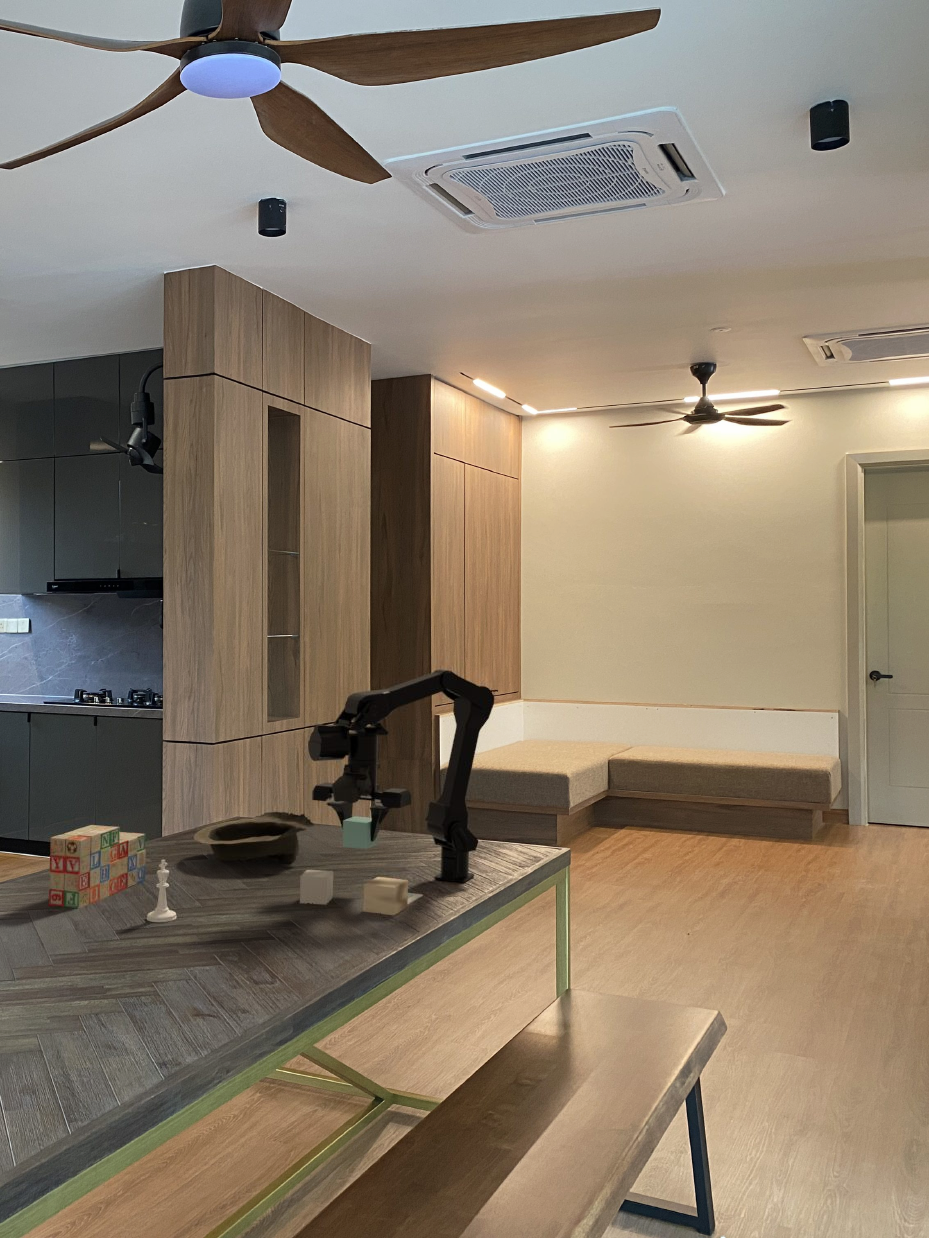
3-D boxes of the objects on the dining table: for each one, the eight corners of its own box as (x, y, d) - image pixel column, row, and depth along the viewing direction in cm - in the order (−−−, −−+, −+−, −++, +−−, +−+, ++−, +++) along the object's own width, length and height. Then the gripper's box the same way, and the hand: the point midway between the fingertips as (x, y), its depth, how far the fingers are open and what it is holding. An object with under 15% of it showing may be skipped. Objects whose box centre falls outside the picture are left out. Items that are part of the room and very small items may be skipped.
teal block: (354, 841, 208) (354, 816, 208) (377, 844, 206) (378, 818, 206) (342, 846, 203) (343, 820, 203) (366, 849, 201) (366, 822, 201)
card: (389, 891, 204) (389, 889, 204) (422, 895, 202) (422, 893, 202) (373, 900, 198) (373, 897, 198) (408, 904, 195) (408, 902, 195)
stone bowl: (334, 856, 232) (333, 814, 232) (254, 887, 212) (253, 841, 211) (251, 839, 246) (250, 800, 245) (168, 867, 225) (167, 824, 224)
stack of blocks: (117, 878, 209) (119, 815, 209) (145, 881, 208) (147, 818, 208) (48, 905, 189) (49, 836, 189) (78, 909, 187) (80, 839, 187)
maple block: (377, 903, 196) (377, 876, 196) (407, 907, 194) (408, 880, 194) (363, 911, 190) (363, 883, 190) (394, 915, 188) (394, 887, 188)
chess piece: (182, 916, 184) (183, 858, 184) (165, 923, 179) (167, 864, 179) (158, 913, 186) (159, 855, 186) (140, 920, 181) (142, 861, 181)
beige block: (306, 896, 199) (307, 869, 200) (332, 897, 199) (333, 871, 199) (299, 903, 195) (300, 876, 195) (326, 904, 194) (327, 877, 194)
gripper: (299, 759, 200) (296, 842, 200) (389, 767, 194) (387, 852, 194) (326, 753, 211) (324, 832, 211) (413, 760, 204) (411, 841, 204)
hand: (360, 839), depth 205 cm, fingers closed on teal block, 5 cm apart
